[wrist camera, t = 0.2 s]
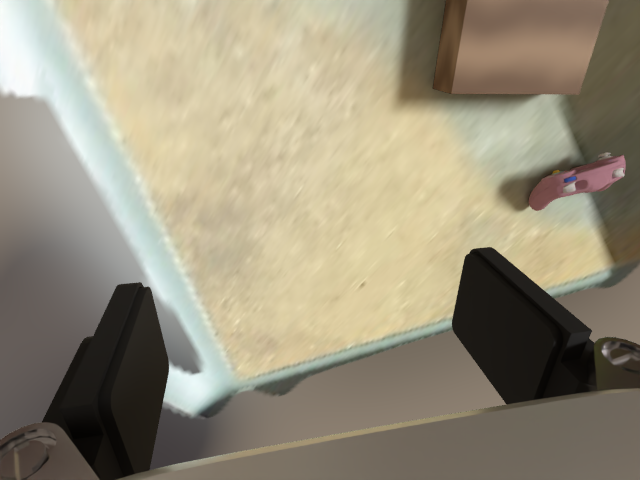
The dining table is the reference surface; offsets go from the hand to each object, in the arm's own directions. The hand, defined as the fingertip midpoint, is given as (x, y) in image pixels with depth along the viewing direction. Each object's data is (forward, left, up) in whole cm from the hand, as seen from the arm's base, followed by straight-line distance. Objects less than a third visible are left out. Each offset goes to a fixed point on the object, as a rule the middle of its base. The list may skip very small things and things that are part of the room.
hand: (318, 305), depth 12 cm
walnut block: (-10, +25, -31) cm, 41 cm away
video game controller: (+8, +37, -31) cm, 49 cm away
